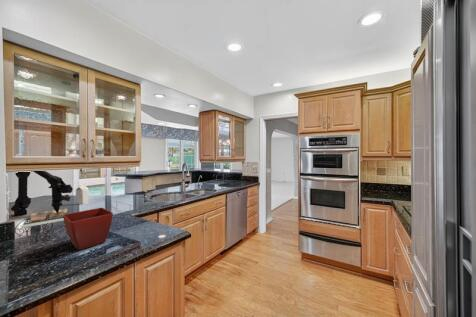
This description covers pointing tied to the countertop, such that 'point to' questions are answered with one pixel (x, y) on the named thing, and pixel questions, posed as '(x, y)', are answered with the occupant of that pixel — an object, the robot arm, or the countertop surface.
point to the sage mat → (42, 222)
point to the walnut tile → (56, 215)
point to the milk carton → (82, 195)
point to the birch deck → (47, 212)
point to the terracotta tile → (38, 218)
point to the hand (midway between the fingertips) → (57, 212)
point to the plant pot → (88, 227)
